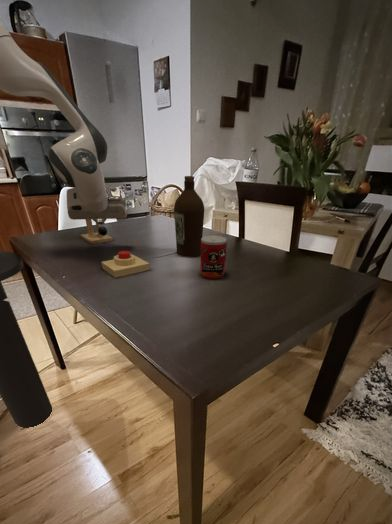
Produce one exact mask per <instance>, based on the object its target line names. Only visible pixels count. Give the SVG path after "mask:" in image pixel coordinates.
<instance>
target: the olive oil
mask: <svg viewBox="0 0 392 524" xmlns="http://www.w3.org/2000/svg"><path fill="white" fill-rule="evenodd" d="M183 187H184V189H183V191H182V192H181V193H180V194H179V196H177V198H176V200H175V202H174V205H173V216H174V217H173V218H174V229H175V243H176V245H175V247H176V255H178V256H180V257H184V258H195V257H199V256H201V238H203V233H204V222H205V221H204V220H205V204H204V201H203V199H202V198H201V197H200V195H199V194H198V193H197V191H196V189H195V176H193V175H185V176H184V181H183Z"/></svg>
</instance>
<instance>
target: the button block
mask: <svg viewBox="0 0 392 524" xmlns="http://www.w3.org/2000/svg"><path fill="white" fill-rule="evenodd" d="M101 267H102V268H101V269H103V270H104V271H105V272H107V273H108V274H109V275H111V276H112V277H113V278H115V279H117V278H121V277H125V276H131V275H133V274H138V273H142V272H143V273H144V272H146V271H150V269H151V268H150V263H149V262H148V261H146V260H145V259H142V258H141V257H139V256H137V255H134V254H132V253H130V258H129V259H119V256H118V254H116V255H114V256H113V259H108V260H103V261H101Z"/></svg>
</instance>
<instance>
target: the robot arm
mask: <svg viewBox="0 0 392 524" xmlns="http://www.w3.org/2000/svg"><path fill="white" fill-rule="evenodd" d="M0 91H2V92H4V93H6V94H8V95H11V96H14V97H37V98H43V99H46V100H48V101H50V102H51V103H52V104H53V105H55V106H56V108H57V109H58V111H59V112H60V113H61V114H62V115H63V116H64V118H65V119H66V120H67V121H68V122H69V124H70V125H71V127H73V129H74V130H75V131H74V132H73V133H71V134H69V135H68V136H66V137H65V138H63V139H61V140H59V141H58V142H56V143H55V144H53V145H52V146H50V147H49V148H48V161H49V164H50V166H51V168H52V170H53V172H54V173H55V175H56V176H57V177H58V179H60V181H62V183H63V184H66V185H68V186H70V187H72V188H68V189H66V209H67V215H68V218H69V219H70V220H73V221H74V220H75V221H76V220H78V221H79V220H85V219H91V220H92V222H94V223H95V224H96V223H97V225H98V224H102V225H105V224H106V223H105V222H106V221H107V220H115V219H116V220H117V219H119V220H120V219H122V220H123V219H126V218H127V216H128V214H127V208H126V206H127V200H126V199H125V198H122V197H121V196H117V197H115V196H108V192H107V189H106V185H105V177H104V173H103V170H102V166H101V164H103V163H104V162H106V160H107V157H108V144H107V140H106V139H105V137H104V136H103V134H102V133H101V132H100V130H99V129H98V128H97V127H96V126H95V125H94V124H93V123H92V122H91V121H90V120H89V119H88V118H87V116H86V115H85V113H83V111H82V110H81V108H79V106H78V105H77V104H76V102H75V101H74V99H73V98H72V97H71V96H70V94H69V93H68V92H67V90H66V89H65V88H64V87H63V86H62V85H61V83H60V82H59V80H58V79H57V78H56V76H54V75H53V74H52V72H51V71H50V70H49V69H48V68H47V67H46V65H44V64H43V63H42V62H39V61H35V60H34V59H32V58H31V57H30V56H28V55H27V54H26V53H25V51H23V50H22V48H20V46H19V45H18V44H17V42H16V41H15V40H14V38H13V36H12V35H11V33H10V32H9V31H8V29H7V28H6V26H5V25H4V23H3V22H2V20H1V19H0Z"/></svg>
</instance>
